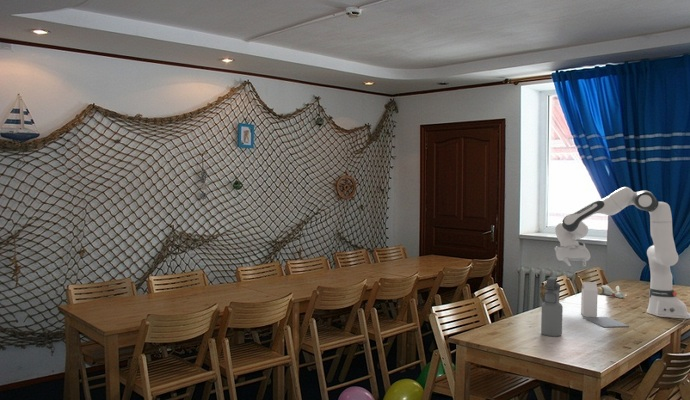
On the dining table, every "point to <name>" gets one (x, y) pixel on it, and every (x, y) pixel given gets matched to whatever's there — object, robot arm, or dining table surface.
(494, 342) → the dining table surface
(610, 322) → the mat
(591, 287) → the milk carton
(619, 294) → the toy dog
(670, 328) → the dining table surface
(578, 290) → the dining table surface
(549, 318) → the water bottle
